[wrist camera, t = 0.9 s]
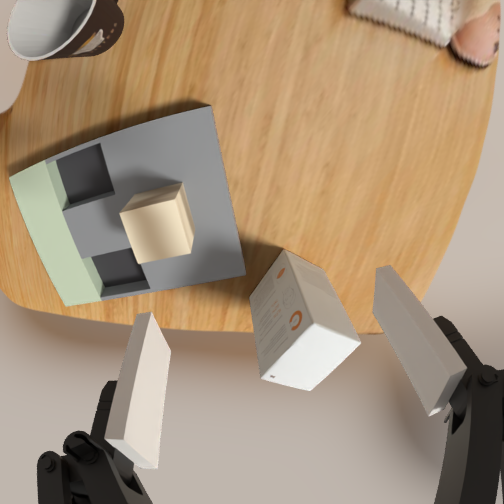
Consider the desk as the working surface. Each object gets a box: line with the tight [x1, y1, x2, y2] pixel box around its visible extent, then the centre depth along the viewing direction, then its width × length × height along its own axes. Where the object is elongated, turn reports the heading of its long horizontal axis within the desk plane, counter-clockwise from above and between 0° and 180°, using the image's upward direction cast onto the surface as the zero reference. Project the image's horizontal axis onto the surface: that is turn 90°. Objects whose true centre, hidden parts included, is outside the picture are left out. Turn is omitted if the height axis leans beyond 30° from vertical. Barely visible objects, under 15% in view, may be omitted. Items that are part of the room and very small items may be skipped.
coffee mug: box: [7, 0, 124, 61], centre depth 17 cm, size 12×9×10 cm
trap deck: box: [9, 106, 246, 306], centre depth 30 cm, size 24×18×2 cm
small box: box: [249, 249, 361, 391], centre depth 32 cm, size 8×6×13 cm
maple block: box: [119, 182, 195, 264], centre depth 27 cm, size 5×5×5 cm
